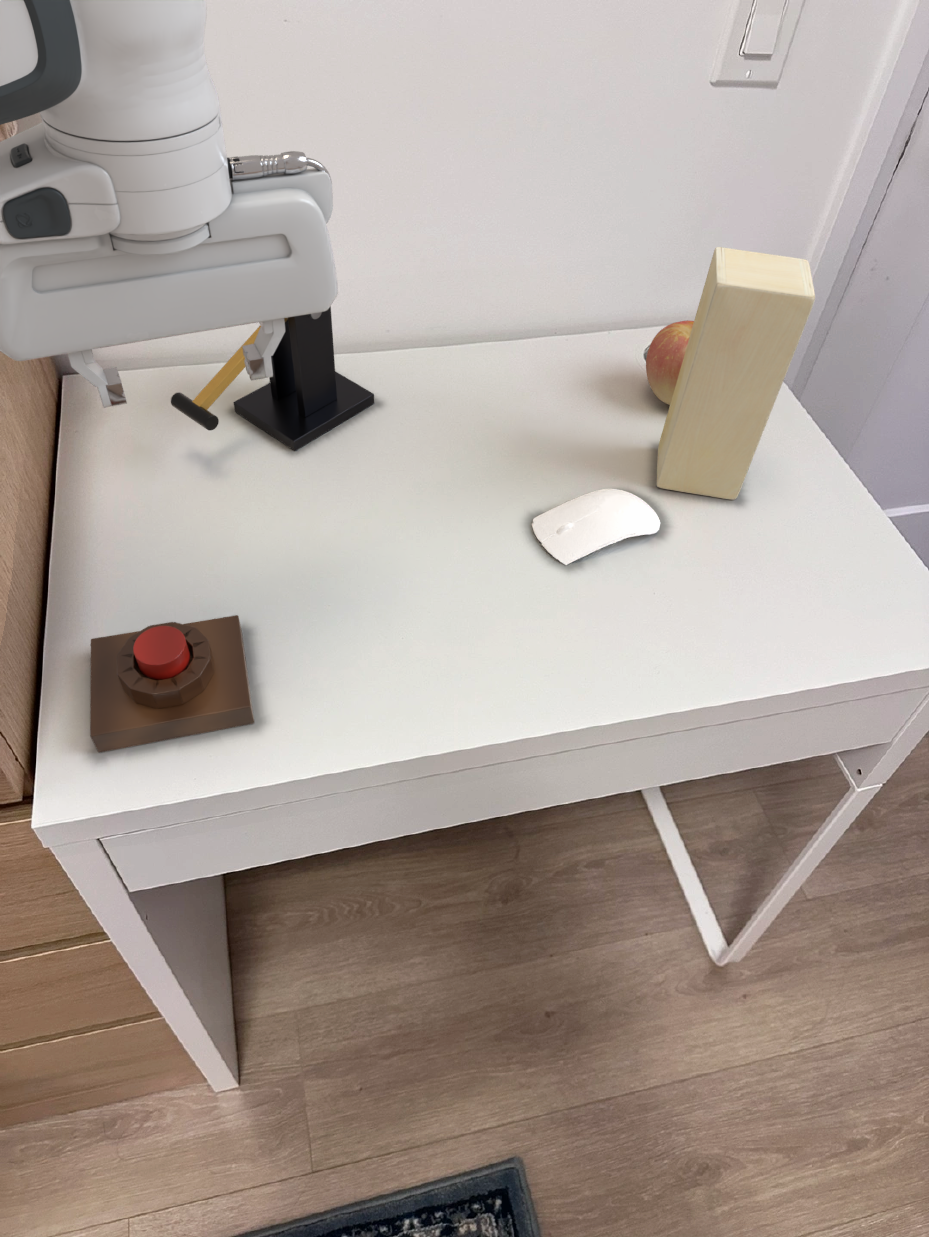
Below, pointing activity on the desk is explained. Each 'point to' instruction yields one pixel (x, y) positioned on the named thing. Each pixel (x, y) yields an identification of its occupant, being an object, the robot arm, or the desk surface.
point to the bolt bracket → (304, 386)
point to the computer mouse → (593, 523)
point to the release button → (161, 652)
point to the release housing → (169, 687)
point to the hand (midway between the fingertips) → (188, 387)
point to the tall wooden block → (733, 369)
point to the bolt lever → (213, 390)
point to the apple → (667, 358)
